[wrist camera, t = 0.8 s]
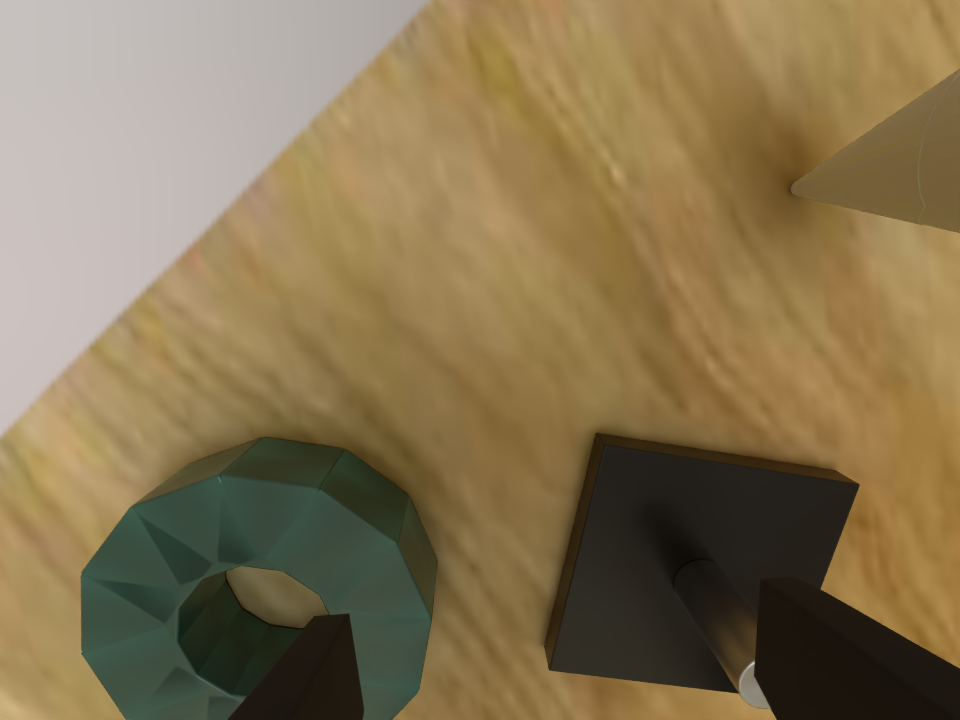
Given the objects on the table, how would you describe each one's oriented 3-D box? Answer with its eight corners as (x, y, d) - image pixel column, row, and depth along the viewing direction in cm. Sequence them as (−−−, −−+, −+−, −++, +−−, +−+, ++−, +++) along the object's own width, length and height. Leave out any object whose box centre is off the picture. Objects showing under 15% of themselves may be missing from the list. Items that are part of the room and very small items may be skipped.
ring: (412, 703, 20) (402, 784, 17) (142, 672, 19) (81, 751, 16) (454, 464, 18) (451, 507, 15) (148, 418, 17) (77, 454, 14)
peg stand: (761, 674, 20) (869, 825, 15) (543, 646, 20) (573, 794, 14) (835, 470, 18) (992, 558, 13) (595, 432, 18) (653, 509, 12)
